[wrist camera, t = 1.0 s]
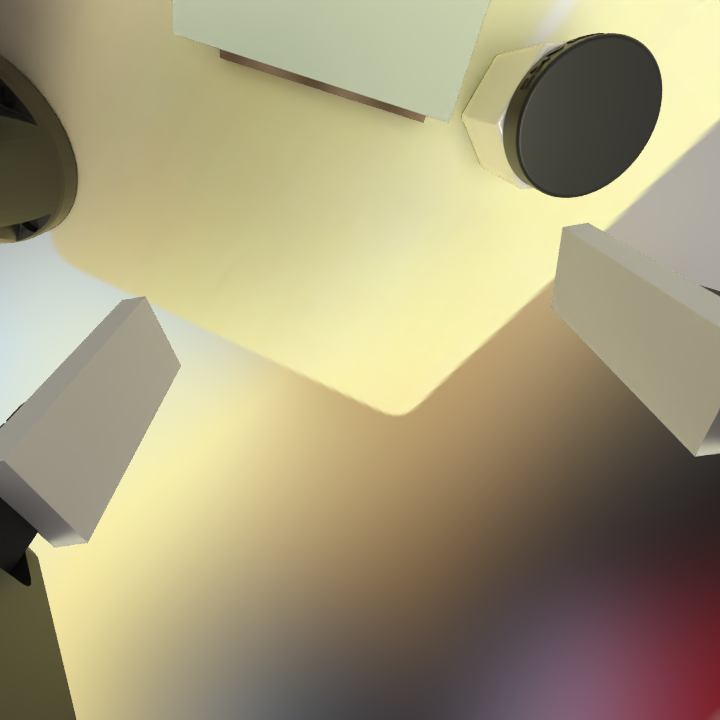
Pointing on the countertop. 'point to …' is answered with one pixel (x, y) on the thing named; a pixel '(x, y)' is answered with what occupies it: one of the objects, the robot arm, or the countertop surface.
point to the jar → (566, 113)
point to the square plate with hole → (350, 43)
